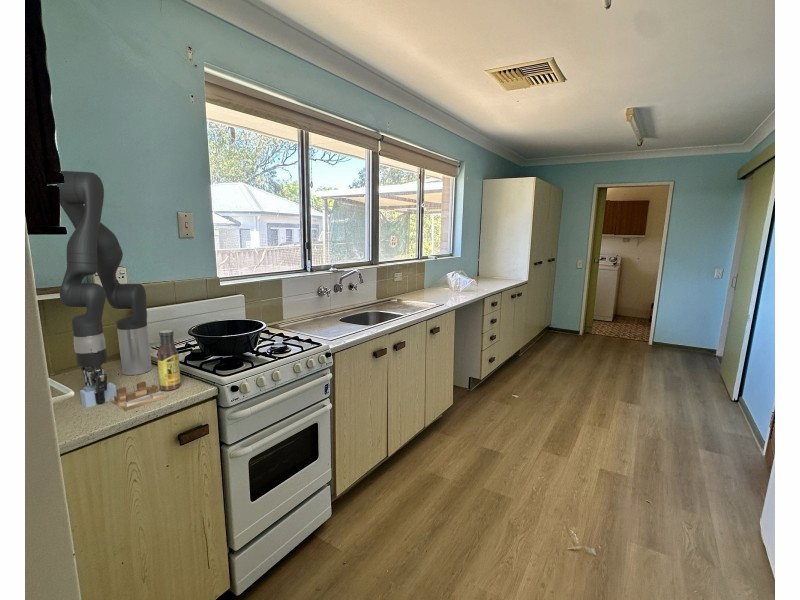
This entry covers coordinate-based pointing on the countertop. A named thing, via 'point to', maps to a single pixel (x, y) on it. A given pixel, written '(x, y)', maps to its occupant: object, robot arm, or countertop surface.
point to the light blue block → (89, 394)
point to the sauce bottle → (168, 362)
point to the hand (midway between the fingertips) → (97, 400)
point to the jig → (137, 396)
